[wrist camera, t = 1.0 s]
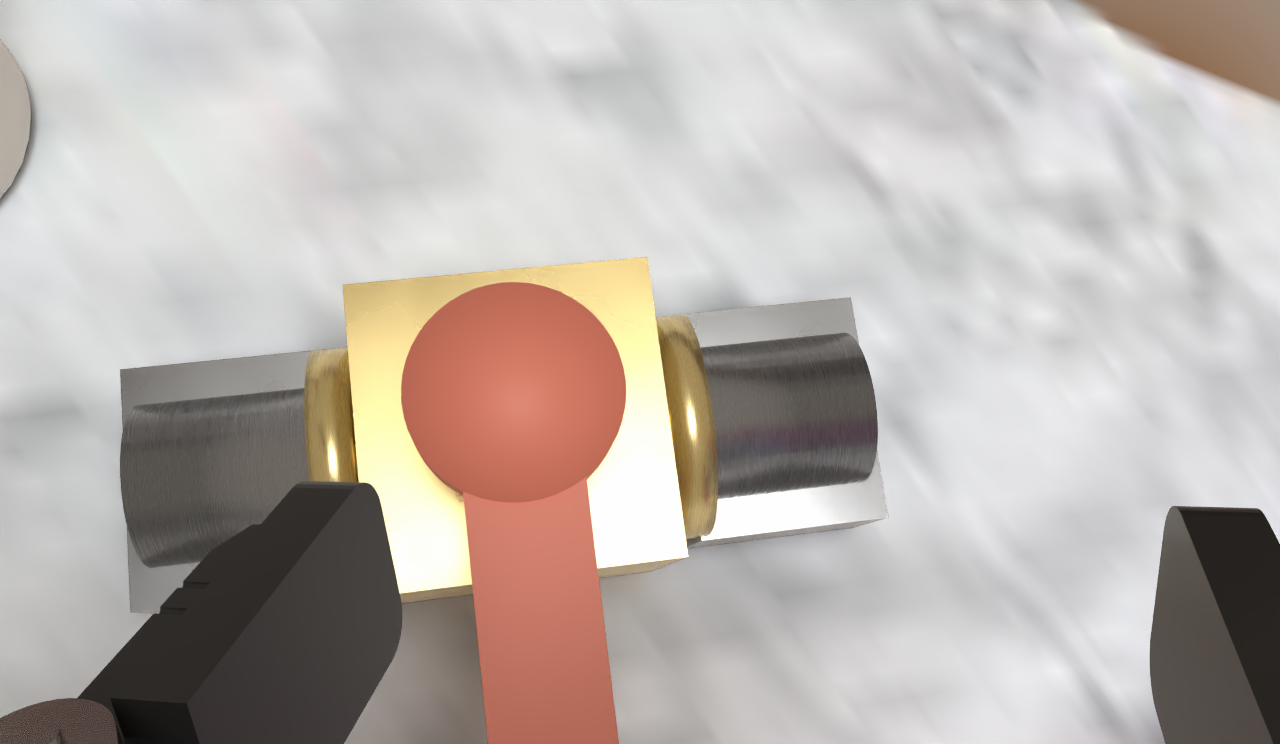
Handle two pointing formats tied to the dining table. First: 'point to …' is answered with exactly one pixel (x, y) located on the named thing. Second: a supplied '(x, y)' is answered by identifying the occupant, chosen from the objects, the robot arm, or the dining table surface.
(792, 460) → the valve
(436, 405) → the lever
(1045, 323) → the dining table surface
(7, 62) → the milk bottle
